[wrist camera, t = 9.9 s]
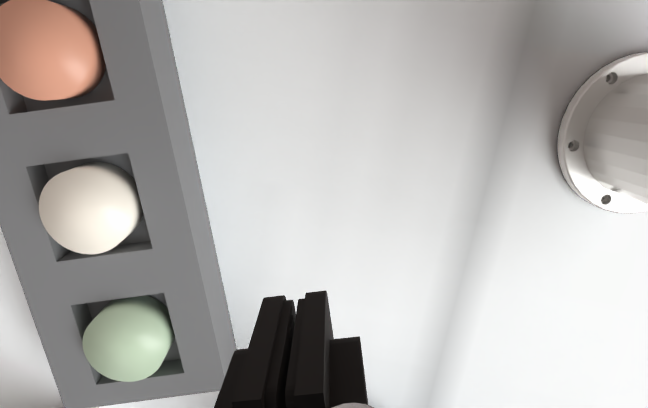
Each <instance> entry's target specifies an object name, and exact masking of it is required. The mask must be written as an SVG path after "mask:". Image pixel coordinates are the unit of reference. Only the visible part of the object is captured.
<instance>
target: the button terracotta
mask: <svg viewBox="0 0 648 408" xmlns="http://www.w3.org/2000/svg"><path fill="white" fill-rule="evenodd" d="M105 68H106V64H105V60H104V56H103V52H102V48H101V44H100V40H99V37H98V33H97V29H96V27H95V26H94V24H93V23H92V22H91V21H90V20H89V19H88V18H87V17H86V16H84V15H83V14H82V13H80V12H79V11H77V10H75V9H73V8H70V7H67V6H64V5H61V4H58V3H54V2H51V1H48V0H9V1H7V2H6V3H4V4H3V5H1V6H0V78H1V80H2V81H3V82H4V83H5V84H6V85H7V86H9V87H10V88H11V89H12V90H14V91H15V92H17V93H19V94H21V95H23V96H25V97H28V98H31V99H35V100H44V101H46V100H60V99H72V98H78V97H81V96H84V95H86V94H88V93H89V92H91V91H92V90H93V89H94V88H95V87H96V86H97V85H98V84H99V83H100V81H101V79H102V77H103V75H104V72H105Z"/></svg>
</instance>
